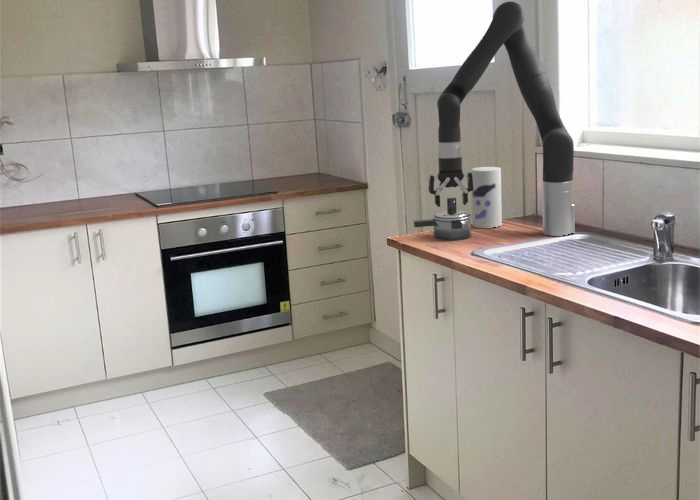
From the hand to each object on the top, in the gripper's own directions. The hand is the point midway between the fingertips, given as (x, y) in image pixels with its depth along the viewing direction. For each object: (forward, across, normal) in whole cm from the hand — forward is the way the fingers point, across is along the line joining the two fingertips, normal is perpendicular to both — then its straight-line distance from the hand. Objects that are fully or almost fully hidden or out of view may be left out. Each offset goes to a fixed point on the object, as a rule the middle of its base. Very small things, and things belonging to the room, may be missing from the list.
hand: (451, 205), depth 254 cm
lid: (+3, 0, 0) cm, 3 cm away
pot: (+10, +3, +1) cm, 11 cm away
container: (+11, -15, -13) cm, 23 cm away
